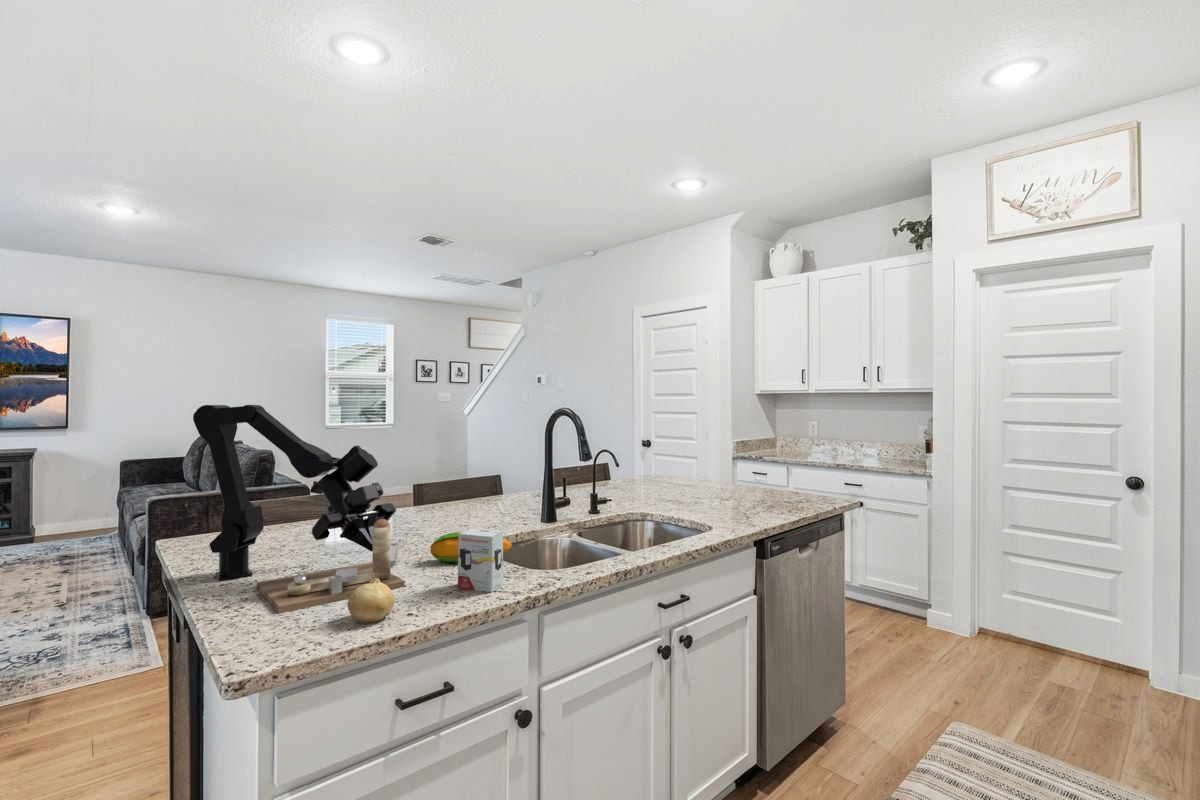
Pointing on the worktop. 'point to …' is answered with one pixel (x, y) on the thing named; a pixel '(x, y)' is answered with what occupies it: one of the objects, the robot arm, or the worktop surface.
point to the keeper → (335, 579)
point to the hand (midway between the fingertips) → (374, 550)
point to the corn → (452, 547)
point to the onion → (371, 601)
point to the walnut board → (283, 602)
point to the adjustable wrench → (396, 551)
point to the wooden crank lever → (379, 571)
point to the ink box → (480, 560)
